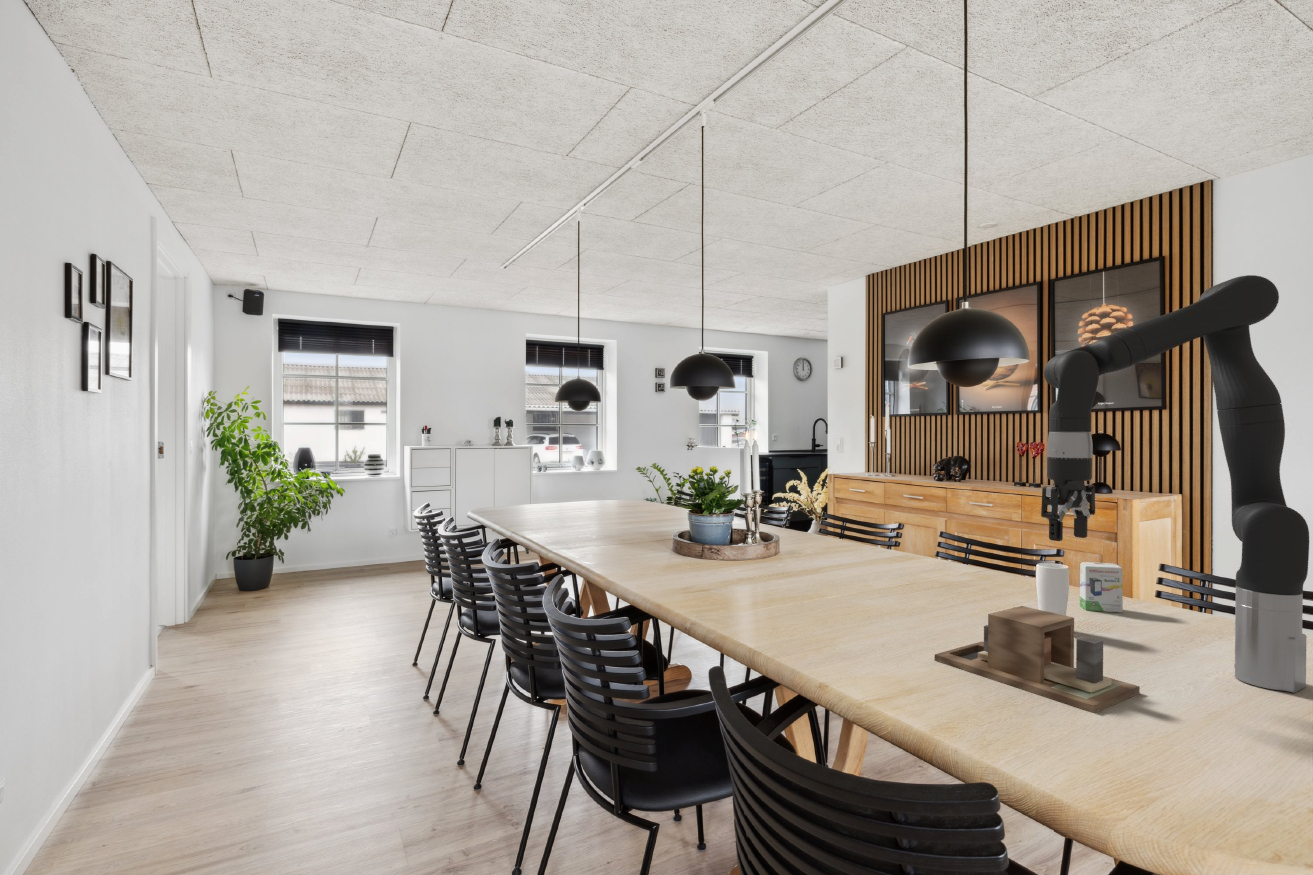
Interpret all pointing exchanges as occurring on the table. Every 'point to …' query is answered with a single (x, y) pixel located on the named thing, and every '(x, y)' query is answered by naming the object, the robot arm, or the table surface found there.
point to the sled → (1082, 677)
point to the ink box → (1101, 587)
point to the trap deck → (1033, 657)
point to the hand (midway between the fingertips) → (1068, 538)
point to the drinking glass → (1052, 587)
